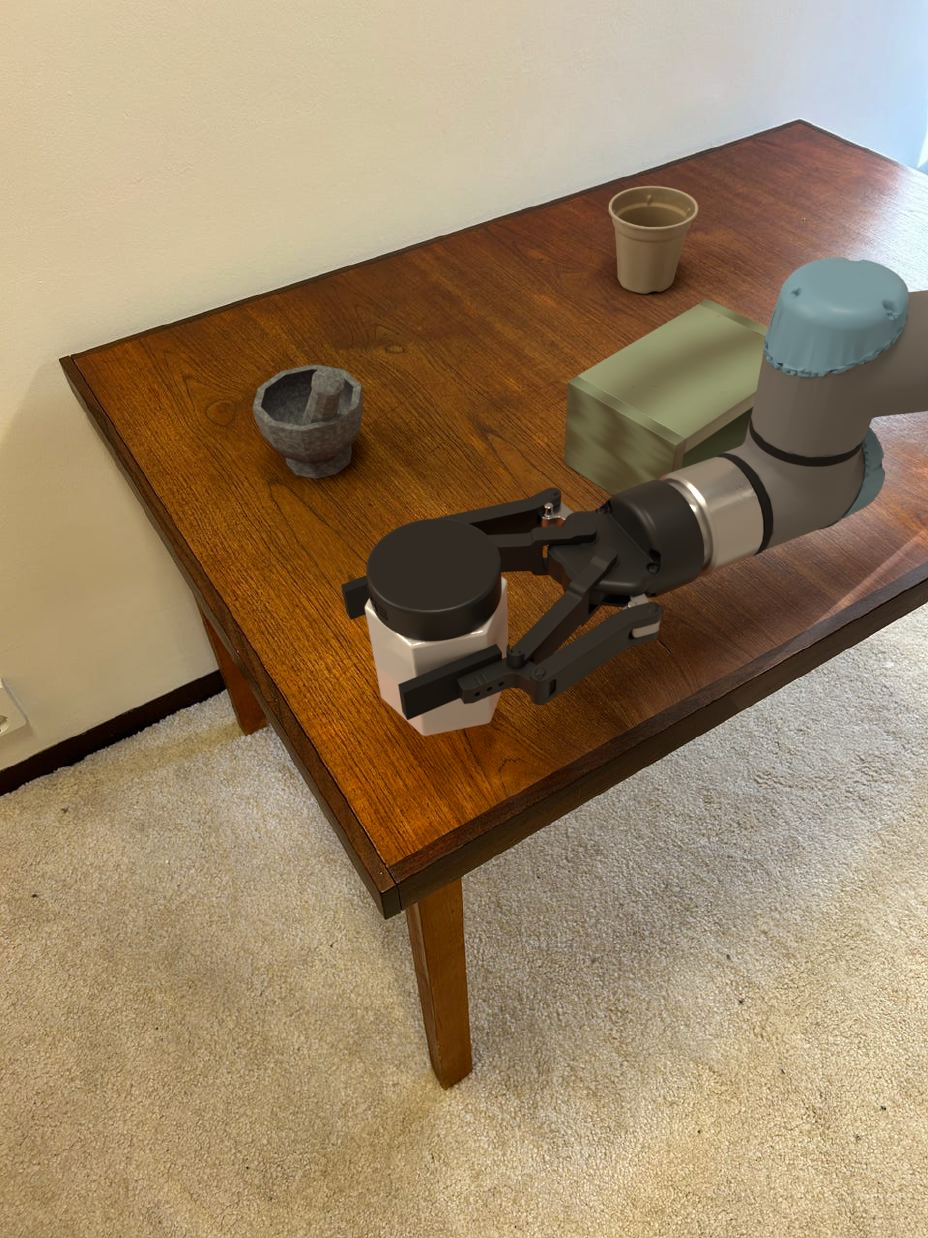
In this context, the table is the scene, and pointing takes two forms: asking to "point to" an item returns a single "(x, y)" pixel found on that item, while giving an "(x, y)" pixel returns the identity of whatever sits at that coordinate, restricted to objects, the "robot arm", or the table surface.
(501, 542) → the robot arm
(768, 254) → the table surface
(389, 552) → the jar
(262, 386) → the mortar and pestle
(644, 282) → the flower pot
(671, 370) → the olive green cubby
